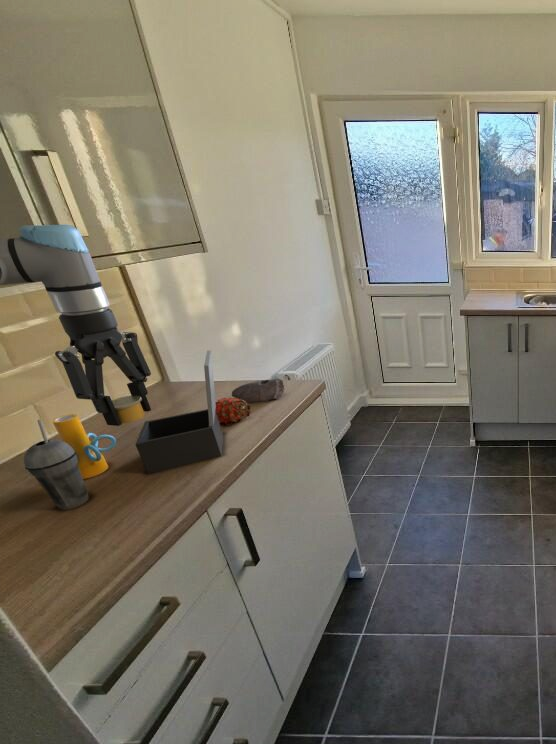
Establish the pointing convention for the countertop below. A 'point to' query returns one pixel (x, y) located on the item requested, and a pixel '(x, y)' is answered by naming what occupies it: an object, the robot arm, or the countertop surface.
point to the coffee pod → (129, 408)
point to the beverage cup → (57, 471)
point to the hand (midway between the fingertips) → (130, 417)
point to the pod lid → (210, 387)
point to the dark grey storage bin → (179, 441)
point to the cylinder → (83, 445)
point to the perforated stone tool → (260, 391)
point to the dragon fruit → (231, 410)
